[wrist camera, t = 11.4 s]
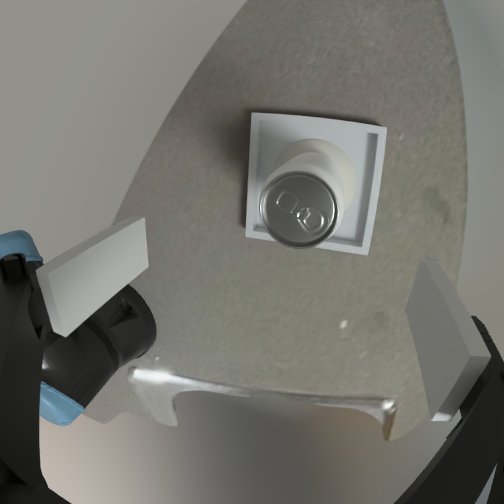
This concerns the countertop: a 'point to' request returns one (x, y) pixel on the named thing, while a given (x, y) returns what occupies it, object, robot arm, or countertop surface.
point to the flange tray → (335, 147)
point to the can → (303, 201)
